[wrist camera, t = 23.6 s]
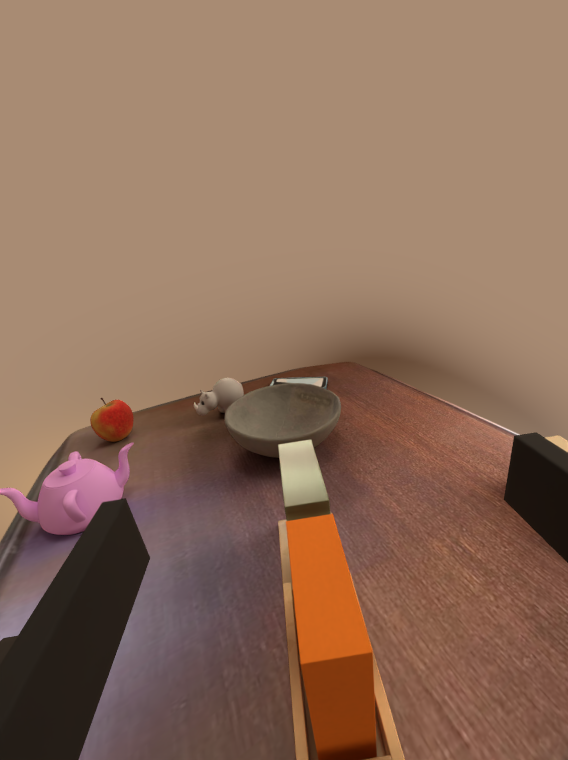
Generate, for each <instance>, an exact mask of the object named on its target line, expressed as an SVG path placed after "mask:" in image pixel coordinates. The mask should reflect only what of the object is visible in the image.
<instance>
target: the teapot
mask: <svg viewBox="0 0 568 760" xmlns="http://www.w3.org/2000/svg"><path fill="white" fill-rule="evenodd" d="M132 445H133V443H130V444H128V445H126V446H125V447H123V448H122V449H121V450H120V452H119V468H118V470H117V471H116V472H114V471H113V470H111V469H110V468H109V467H107V466H105V465H103V464H101V463H99V462H97V461H95V460H92V459H81V456H80V454H79V453H78V452H72V453H71V454H70V455H69V458H68V461H67V462H65V463H63V464H61V465H60V466H59V467H58V468H57V469H56V470H54V471H53V472H51V473H50V474H49V475H48V476H47V477H46V479H45V480H44V482H43V485H42V487H41V491H40V494H39V498H38V502H33V501H30V500H28V499H27V498H25V496H24V495H23V494H22V493H21V492H20V491H18V490H16V489H14V488H2V489H0V494H1V495H5V496H7V497H8V498H9V499H11V500H12V502H13V503H14V505H15V506H16V508H17V510H18V512H19V513H20V515H21V516H22V517H23V518H25V519H27V520H29V521H34V522H39V523H40V525H41V527H42V529H43V530H45V531H46V532H48V533H51V534H57V535H71V534H76V533H79V532H82V531H84V530H85V529H86V527H87V526H88V524H89V523H90V521H91V519H92V518H93V516H94V515H95V513H96V511H97V510H98V508H99V507H100V505H101V503H102V502H107V501H113V500H119V499H121V498H122V495H123V491H124V487H123V486H124V485H125V484H126V483H127V481H128V479H129V474H130V470H129V465H128V460H127V453H128V451H129V449H130V448H131V446H132Z"/></svg>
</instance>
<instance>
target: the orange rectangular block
mask: <svg viewBox="0 0 568 760" xmlns="http://www.w3.org/2000/svg"><path fill="white" fill-rule="evenodd" d="M286 530H287V539H288V549H289V558H290V568H291V578H292V587H293V597H294V606H295V616H296V626H297V635H298V645H299V654H300V664H301V669H302V675H303V680H304V685H305V691H306V696H307V702H308V707H309V712H310V718H311V723H312V728H313V734H314V739H315V745H316V750H317V755H318V760H362V759H368V758H373V757H377V747H376V722H375V697H374V672H373V651H372V647H371V644H370V641H369V637H368V634H367V630H366V627H365V623H364V620H363V616H362V613H361V610H360V606H359V603H358V599H357V596H356V592H355V589H354V585H353V582H352V579H351V575H350V572H349V568H348V565H347V561H346V558H345V554H344V551H343V547H342V544H341V541H340V537H339V534H338V530H337V527H336V523H335V520H334V516H333V514H328V515H322V516H316V517H310V518H303V519H297V520H291V521H286Z"/></svg>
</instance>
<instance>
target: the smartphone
mask: <svg viewBox="0 0 568 760" xmlns="http://www.w3.org/2000/svg"><path fill="white" fill-rule="evenodd" d="M286 383H304V384H312V385H316V386H319V387H322V388H325V389H326V387H327V377H302V378H275V379H273V381H272V383H271V385H270V386H273V385H278V384H286Z"/></svg>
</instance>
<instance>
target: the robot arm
mask: <svg viewBox="0 0 568 760" xmlns="http://www.w3.org/2000/svg"><path fill="white" fill-rule="evenodd" d="M504 500H505V501H506V502H507V503H508V504H509V505H510V506H511V507H512V508H513V509H514V510H515V511H516V512H517V513H518V514H519V515H520V516H521V517H522V518H523V519H524V520H525V521H526V522H527V523H528V524H529V525H530V526H531V527H532V528H533V529H534V530H535V531H536V532H537V533H538V534H539V535H540V536H541V537H542V538H543V539H544V540H545V541H546V542H547V543H548V544H549V545H550V546H551V547H552V548H553V549H554V550H555V551H556V552H557V553H558V554H559V555H560V556H561V557H562V558H563V559H564V560H566V561H567V562H568V452H566V451H565V450H563V449H562V448H560V447H558V446H557V445H555V444H554V443H552V442H551V441H549V440H547V439H546V438H544V437H542V436H541V435H540V434H538V433H530V434H524V435H517V436H514V441H513V447H512V453H511V459H510V465H509V472H508V478H507V484H506V490H505V496H504ZM149 560H150V556H149V554H148V552H147V549H146V547H145V544H144V542H143V539H142V537H141V535H140V532H139V530H138V527H137V525H136V522H135V520H134V518H133V515H132V513H131V510H130V508H129V505H128V503H127V501H126V498H125V499H119V500H113V501H107V502H102V503H101V505H100V507H99V508H98V510H97V511H96V513H95V515H94V516H93V518H92V519H91V521H90V523H89V524H88V526H87V527H86V529H85V530H84V532H83V534H82V535H81V537H80V538H79V540H78V542H77V543H76V545H75V546H74V548H73V550H72V551H71V553H70V554H69V556H68V557H67V559H66V561H65V562H64V564H63V565H62V567H61V569H60V570H59V572H58V573H57V575H56V577H55V578H54V580H53V581H52V583H51V584H50V586H49V588H48V589H47V591H46V592H45V594H44V596H43V597H42V599H41V600H40V602H39V604H38V605H37V607H36V608H35V610H34V611H33V613H32V615H31V616H30V618H29V619H28V621H27V623H26V624H25V626H24V627H23V629H22V631H21V632H20V634H19V635H18V636H14V637H8V638H3V639H2V640H1V641H0V760H78V759H79V756H80V754H81V751H82V748H83V745H84V742H85V740H86V737H87V734H88V731H89V728H90V726H91V723H92V720H93V717H94V714H95V711H96V709H97V706H98V703H99V700H100V697H101V695H102V692H103V689H104V686H105V683H106V681H107V678H108V675H109V672H110V669H111V666H112V664H113V661H114V658H115V655H116V652H117V650H118V647H119V644H120V641H121V638H122V636H123V633H124V630H125V627H126V624H127V622H128V619H129V616H130V613H131V610H132V607H133V605H134V602H135V599H136V596H137V593H138V591H139V588H140V585H141V582H142V579H143V577H144V574H145V571H146V568H147V565H148V562H149Z"/></svg>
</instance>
